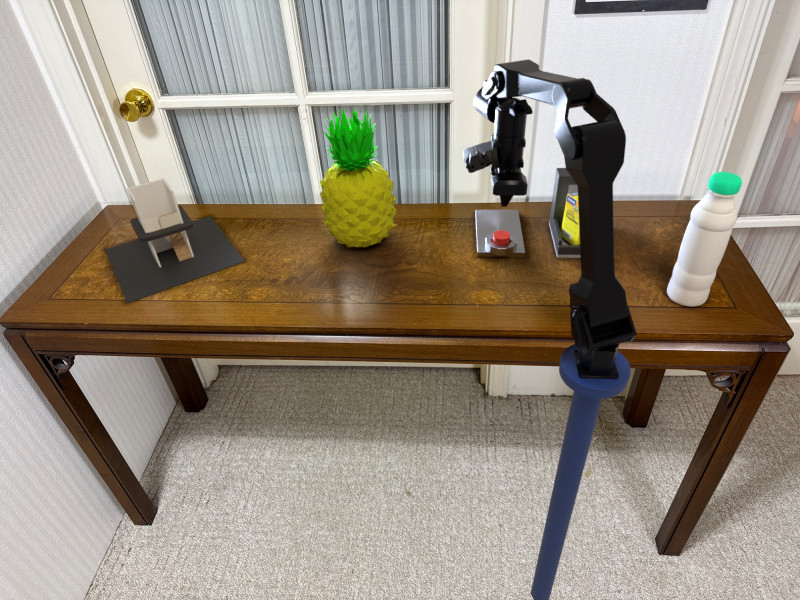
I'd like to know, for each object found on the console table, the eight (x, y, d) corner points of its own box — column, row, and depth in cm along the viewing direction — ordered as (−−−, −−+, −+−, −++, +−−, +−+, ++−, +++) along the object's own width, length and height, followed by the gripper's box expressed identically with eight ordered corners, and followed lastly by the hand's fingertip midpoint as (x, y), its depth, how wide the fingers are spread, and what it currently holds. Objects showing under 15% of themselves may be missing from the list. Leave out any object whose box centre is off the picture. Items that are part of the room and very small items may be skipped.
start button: (510, 246, 119) (510, 239, 118) (493, 246, 119) (493, 239, 118) (509, 237, 122) (509, 230, 121) (492, 237, 122) (492, 230, 121)
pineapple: (320, 260, 123) (298, 126, 104) (329, 220, 136) (311, 95, 117) (396, 258, 122) (388, 123, 103) (399, 218, 135) (391, 92, 116)
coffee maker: (608, 258, 118) (621, 198, 110) (557, 258, 119) (566, 199, 111) (596, 224, 129) (607, 167, 120) (548, 223, 130) (556, 167, 121)
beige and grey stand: (127, 303, 114) (96, 233, 104) (104, 249, 131) (76, 185, 120) (244, 261, 124) (227, 194, 114) (210, 216, 140) (192, 154, 130)
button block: (525, 260, 119) (526, 248, 117) (477, 260, 120) (478, 248, 118) (517, 214, 134) (518, 202, 132) (475, 214, 135) (475, 203, 133)
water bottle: (704, 288, 109) (748, 169, 94) (707, 311, 104) (754, 188, 88) (665, 282, 111) (702, 164, 96) (666, 304, 106) (704, 183, 90)
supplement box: (576, 252, 119) (584, 206, 113) (559, 238, 124) (566, 193, 117) (599, 244, 121) (608, 199, 114) (581, 231, 125) (589, 187, 119)
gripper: (465, 114, 113) (463, 184, 123) (466, 153, 99) (464, 230, 109) (521, 113, 112) (515, 184, 122) (531, 152, 98) (523, 230, 108)
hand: (503, 205), depth 115 cm, fingers closed
